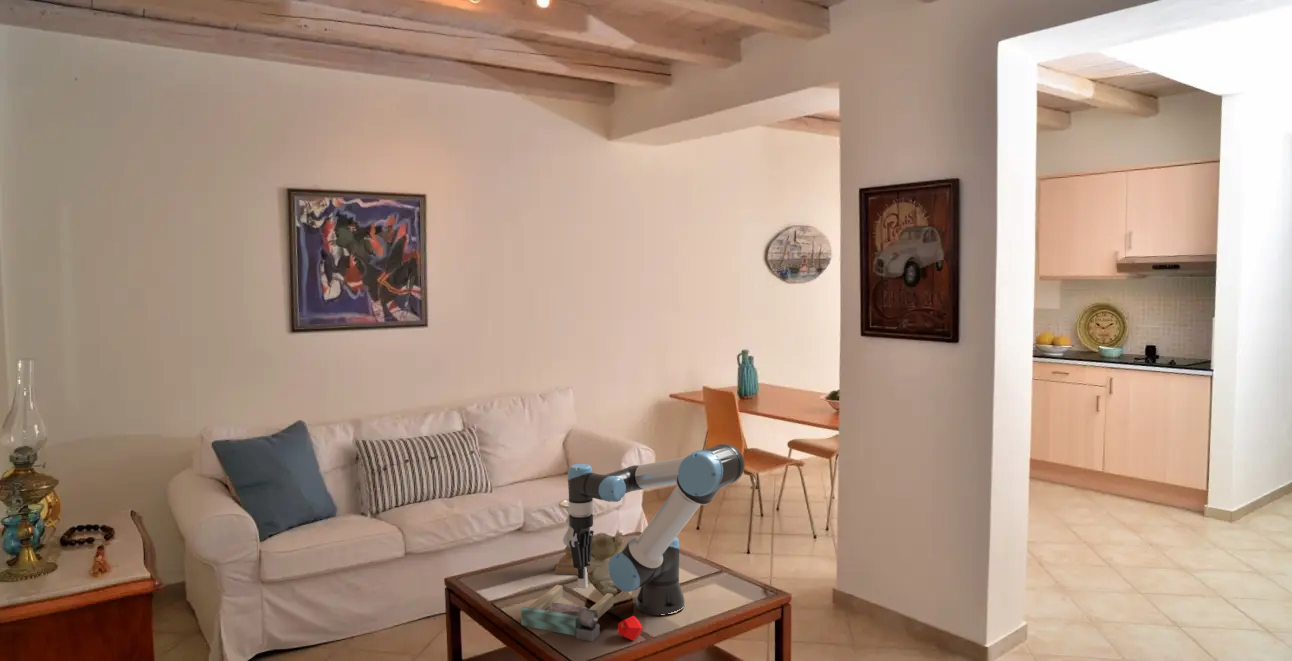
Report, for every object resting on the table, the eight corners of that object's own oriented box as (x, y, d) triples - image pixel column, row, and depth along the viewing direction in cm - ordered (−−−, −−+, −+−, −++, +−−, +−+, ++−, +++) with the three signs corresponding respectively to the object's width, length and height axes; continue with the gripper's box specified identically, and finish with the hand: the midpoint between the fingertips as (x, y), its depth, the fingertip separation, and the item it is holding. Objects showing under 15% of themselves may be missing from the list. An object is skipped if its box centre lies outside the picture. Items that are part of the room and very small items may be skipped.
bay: (613, 605, 261) (613, 589, 261) (578, 636, 239) (578, 619, 239) (557, 595, 269) (557, 580, 269) (518, 624, 247) (518, 608, 246)
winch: (601, 634, 240) (601, 607, 240) (593, 641, 236) (593, 614, 235) (582, 631, 243) (582, 604, 242) (574, 638, 238) (574, 611, 237)
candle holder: (561, 562, 298) (560, 497, 297) (591, 564, 297) (591, 498, 295) (554, 574, 288) (554, 506, 286) (585, 575, 286) (585, 507, 285)
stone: (585, 627, 246) (584, 612, 245) (545, 627, 246) (545, 611, 246) (588, 614, 255) (588, 599, 254) (549, 614, 255) (549, 599, 255)
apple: (635, 611, 244) (617, 609, 238) (650, 622, 239) (632, 621, 233) (626, 633, 243) (607, 632, 238) (641, 645, 239) (623, 644, 233)
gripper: (579, 507, 268) (581, 578, 269) (560, 518, 256) (562, 593, 257) (600, 509, 265) (602, 581, 267) (582, 520, 253) (584, 596, 254)
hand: (582, 587), depth 262 cm, fingers closed
